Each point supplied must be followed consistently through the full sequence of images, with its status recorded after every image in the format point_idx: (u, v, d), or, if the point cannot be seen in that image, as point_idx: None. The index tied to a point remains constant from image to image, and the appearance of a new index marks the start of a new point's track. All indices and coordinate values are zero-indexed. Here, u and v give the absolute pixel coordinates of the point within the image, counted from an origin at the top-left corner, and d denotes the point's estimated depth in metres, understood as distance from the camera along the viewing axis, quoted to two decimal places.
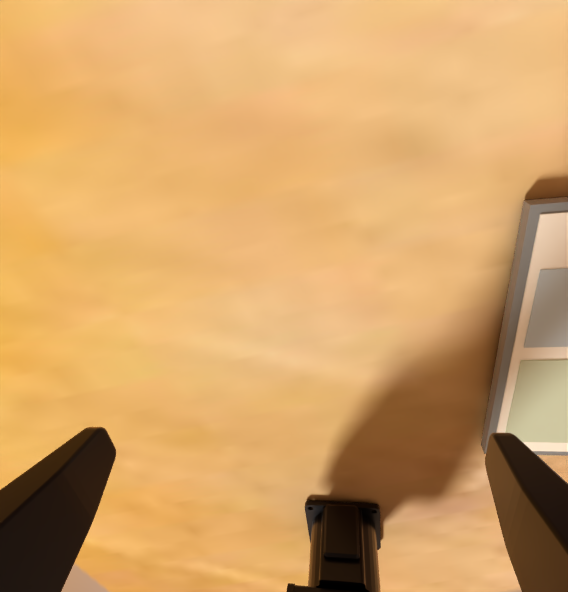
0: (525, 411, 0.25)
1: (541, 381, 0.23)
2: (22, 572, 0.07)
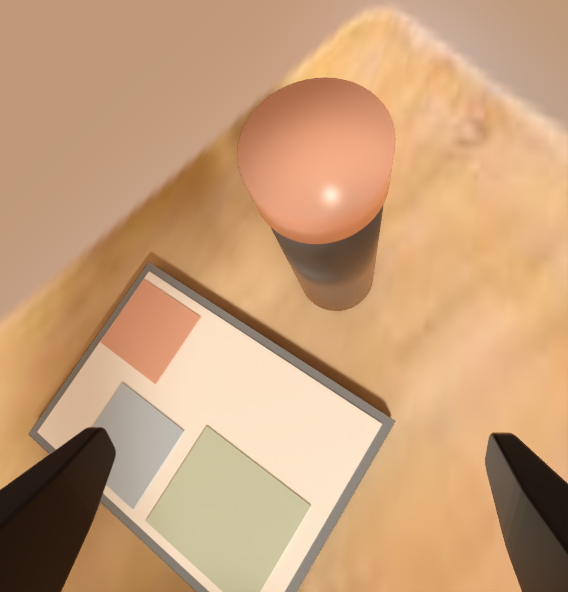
0: (212, 558, 0.20)
1: (181, 517, 0.21)
2: (22, 572, 0.07)
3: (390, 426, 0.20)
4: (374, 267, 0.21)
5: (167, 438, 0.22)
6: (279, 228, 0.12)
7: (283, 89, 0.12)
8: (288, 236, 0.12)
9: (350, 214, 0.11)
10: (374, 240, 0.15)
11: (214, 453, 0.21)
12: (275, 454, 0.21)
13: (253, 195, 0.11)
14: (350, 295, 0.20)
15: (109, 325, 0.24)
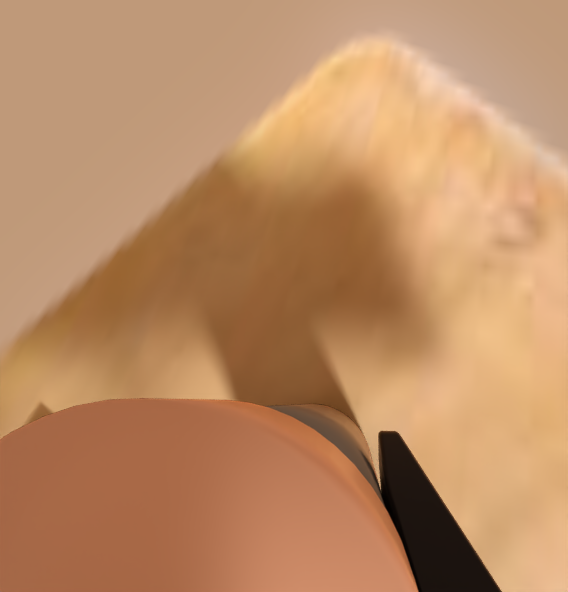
0: None
1: None
2: None
3: None
4: None
5: None
6: None
7: (34, 422, 0.03)
8: None
9: None
10: None
11: None
12: None
13: None
14: None
15: None
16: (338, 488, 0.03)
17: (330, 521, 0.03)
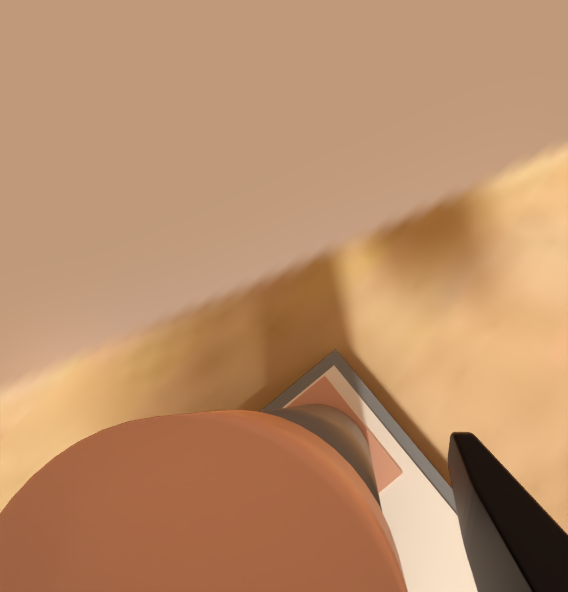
0: None
1: None
2: None
3: None
4: None
5: None
6: None
7: (95, 434, 0.04)
8: None
9: None
10: None
11: None
12: None
13: None
14: None
15: None
16: (335, 485, 0.04)
17: (329, 510, 0.03)
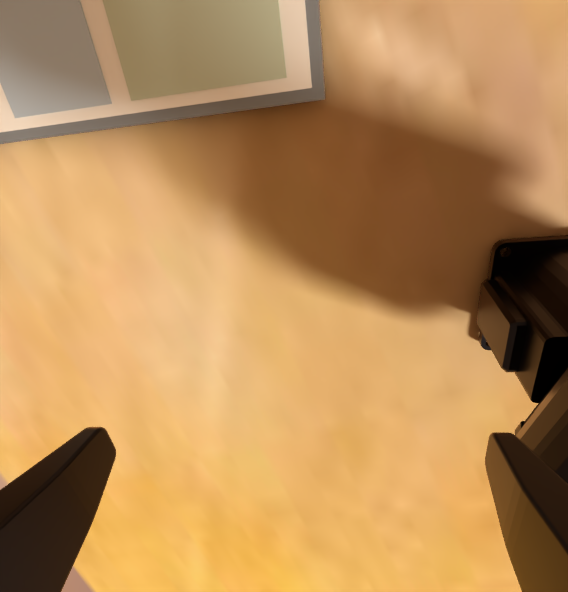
0: (215, 63, 0.16)
1: (155, 59, 0.16)
2: (22, 572, 0.07)
3: None
4: None
5: None
6: None
7: None
8: None
9: None
10: None
11: None
12: None
13: None
14: None
15: None
16: None
17: None
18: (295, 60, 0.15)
